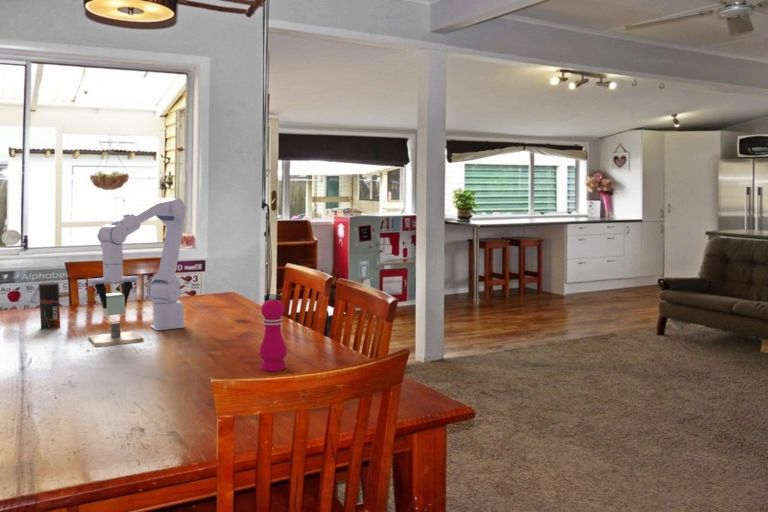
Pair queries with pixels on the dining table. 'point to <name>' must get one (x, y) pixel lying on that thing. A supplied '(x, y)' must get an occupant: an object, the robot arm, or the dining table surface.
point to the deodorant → (49, 305)
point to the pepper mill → (272, 336)
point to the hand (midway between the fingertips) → (114, 307)
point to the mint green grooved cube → (115, 304)
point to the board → (114, 340)
